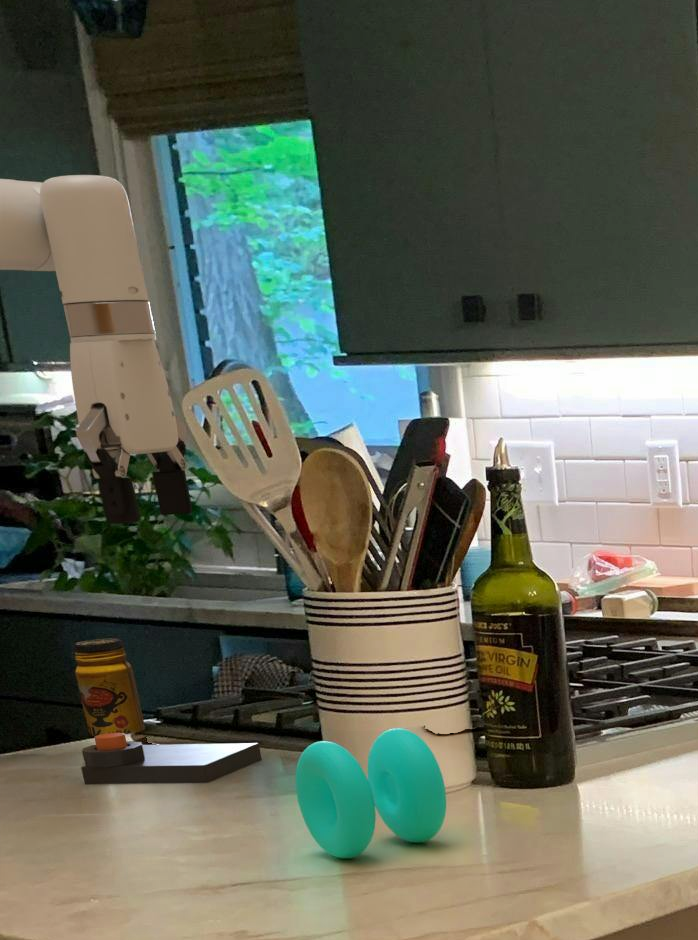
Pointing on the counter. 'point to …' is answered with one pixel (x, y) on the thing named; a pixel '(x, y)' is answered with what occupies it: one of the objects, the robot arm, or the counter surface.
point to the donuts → (370, 792)
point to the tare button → (110, 741)
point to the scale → (166, 762)
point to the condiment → (108, 688)
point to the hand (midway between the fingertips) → (151, 518)
